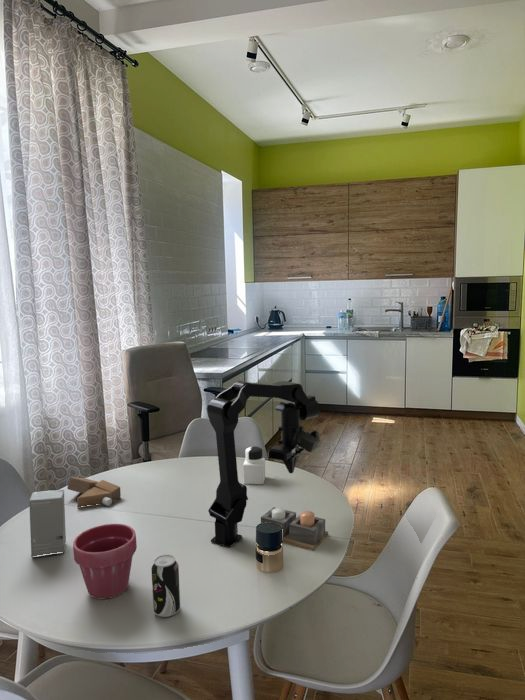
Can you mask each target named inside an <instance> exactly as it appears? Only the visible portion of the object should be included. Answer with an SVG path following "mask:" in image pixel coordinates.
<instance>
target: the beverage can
mask: <svg viewBox="0 0 525 700" xmlns="http://www.w3.org/2000/svg"><path fill="white" fill-rule="evenodd" d="M150 570H151V583H152V588H151V589H152V603H153V605H152V606H153V607H152V608H153V612H154V614H155V615H157V616H158V617H162V618H168V617H169V618H170V617H172V616H174V615H175V614H177V613H178V612H179V611H180V610H181V593H180V592H181V591H180V572H179V571H180V570H179V563H178V561H177V560H176V557H175V556H174V555H171V554H162V555H159V556H157V557H156V558H155V559H154V560H153V564H152V566H151V569H150Z"/></svg>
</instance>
